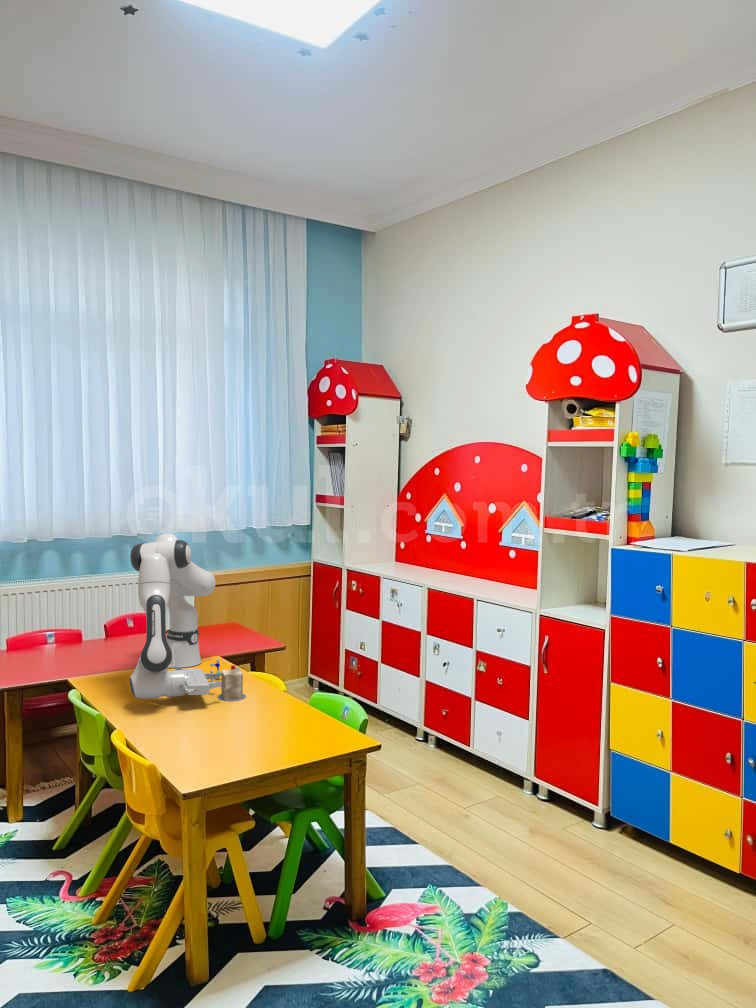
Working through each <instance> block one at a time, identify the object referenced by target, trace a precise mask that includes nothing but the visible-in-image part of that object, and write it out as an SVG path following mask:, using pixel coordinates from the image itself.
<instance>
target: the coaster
mask: <svg viewBox="0 0 756 1008" xmlns="http://www.w3.org/2000/svg"><path fill="white" fill-rule="evenodd" d="M246 698H247V695H246V694H245V693H242V699H234V700H224V699H223V697H222V695H221V694H219V695H218V696H217V699H218V700H219V701H222V702H227V703H228V702H230V703H231V702H232V703H233V702H239V701H243V700H245V699H246Z"/></svg>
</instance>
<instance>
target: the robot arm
mask: <svg viewBox="0 0 756 1008" xmlns="http://www.w3.org/2000/svg"><path fill="white" fill-rule="evenodd" d="M129 556H130V557H129V560H130V563H131V567H132V568H133V569H134V570H135V571H136V572H138V578H137V579H138V580H137V592H138V593H137V594H138V600H139V605H140V607H142V609H143V611H144V613H145V617H146V619H145V620H146V640H145V644H144V646H143V648H142V650H141V652H140V655H139V657H138V661H137V663H136V667H135V669H134V671H133V672H132V674H131V675H130V676H129V679H128V680H129V682H128V683H129V687H130V691H131V694H132V696H133V697H135V698H136V699H141V700H144V699H145V700H148V699H150V700H151V699H158V698H161V697H167V698H173V697H184V696H185V694H187V695H189V696H202V695H209V694H210V690H213V689H216V688H221V686H222V683H221V680H218V679H217V677H218V676H217V674H216V673H217V672H216V673H215V672H213V673H212V674H211V673H210V672H204V671H203V669H201V668H192V667H195V666H198V665H200V664H201V663H202V659H201V658H202V657H201V653H200V645H199V637H200V636H199V635H200V634H199V633H200V631H199V630H200V629H199V628H198V625H199V624H198V623H199V622H198V621H199V620H198V619H199V618H198V617H199V616H198V615H199V613H198V610H197V608H196V607H195V606H194V605H192V604H190V603H189V602H188V601H187V600H186V598H185V597H204V596H209V595H211V594H212V593H213V591H215V588H216V585H217V583H216V582H217V581H216V577H215V575H214V574H213V572H211V571H210V570H209V571H208V570H206V569H204V568H203V567H200V566H199V565H197V564H196V563H194V562H193V561H192V550H191V547H190V545H189V543H188V542H187V541H185V540H181V539H179V538H178V537H177V536H176V535H175V534H172V533H169V532H168V533H163V534H160V535H159V536H158V537H157V538H156V539H155V541H151V542H146V543H144V542H142V543H138V544H135V545H133V547H132V548H131V550H130V555H129ZM167 609H168V613H169V614H168V615H169V629H167V630H166V614H167ZM189 667H191V668H189ZM173 668H174V669H173ZM167 669H173V670H167ZM211 679H212V680H215V681H213V682H211V681H209V680H211Z"/></svg>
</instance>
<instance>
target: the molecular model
mask: <svg viewBox="0 0 756 1008" xmlns="http://www.w3.org/2000/svg"><path fill="white" fill-rule="evenodd" d="M220 661H221V660H220V659H219V658H218V659H216V660H215V662H216V663H212V662H211V663H210V664H209V666H210V667H216V669H217V672H216V674H217V679H216V680H219V679H221V678H220V677H221V672H222V671H220V666H221V664H220ZM231 669H240V670H241V667H239V666H237V667H236V666H235V665H231V666H230V669H229V670H231ZM209 673H211V674H213V673H214V670H213V669H210V671H209ZM213 680H214V679H213ZM213 680H212V679H210V682H214V681H213Z"/></svg>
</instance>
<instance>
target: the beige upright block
mask: <svg viewBox="0 0 756 1008" xmlns="http://www.w3.org/2000/svg"><path fill="white" fill-rule="evenodd" d="M230 669H231V668H230ZM230 669H222V670H221V671H220V672H221V676H220V677H221V678H220V679H221V680H220V681H221V683H222V686H221V687H220V689H221V691H220V693H221V694H220V695H222V697H223V699H224V700H234V699H242V694H243V693H244V692H243V689H244V688H243V682H244V681H243V680H244V679H243V678H244V676H243V675H244V673H243V672H242V671H241V668H240V669H231V670H230Z"/></svg>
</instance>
